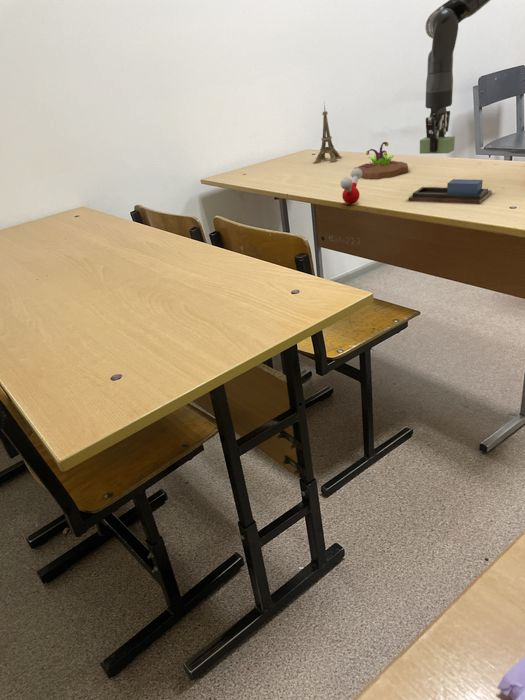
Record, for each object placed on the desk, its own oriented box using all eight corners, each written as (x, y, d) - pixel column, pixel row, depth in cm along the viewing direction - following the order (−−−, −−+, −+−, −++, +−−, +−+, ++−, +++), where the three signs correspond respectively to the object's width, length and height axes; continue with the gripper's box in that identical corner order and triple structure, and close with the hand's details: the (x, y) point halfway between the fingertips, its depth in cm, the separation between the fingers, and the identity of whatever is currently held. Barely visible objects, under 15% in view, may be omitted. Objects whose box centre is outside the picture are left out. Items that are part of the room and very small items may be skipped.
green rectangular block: (454, 150, 163) (454, 136, 161) (448, 153, 160) (449, 139, 158) (425, 150, 168) (426, 137, 166) (419, 153, 165) (419, 140, 163)
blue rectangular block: (481, 193, 163) (482, 179, 161) (476, 197, 159) (477, 183, 157) (452, 192, 168) (453, 179, 166) (446, 196, 164) (447, 183, 163)
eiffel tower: (341, 157, 249) (338, 99, 236) (336, 162, 240) (332, 101, 228) (320, 158, 253) (316, 101, 240) (313, 163, 244) (309, 104, 232)
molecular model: (357, 210, 166) (356, 178, 161) (338, 211, 168) (337, 179, 163) (363, 196, 181) (362, 166, 176) (346, 197, 182) (345, 167, 178)
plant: (417, 171, 203) (418, 140, 198) (372, 181, 199) (371, 149, 193) (390, 164, 220) (390, 136, 215) (348, 173, 216) (346, 144, 210)
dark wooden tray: (491, 193, 164) (492, 187, 163) (479, 204, 156) (479, 197, 155) (422, 191, 177) (422, 185, 176) (408, 201, 169) (408, 194, 168)
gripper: (442, 91, 148) (440, 154, 157) (460, 85, 158) (457, 145, 166) (417, 93, 153) (416, 155, 161) (435, 87, 162) (433, 145, 170)
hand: (437, 149), depth 164 cm, fingers closed on green rectangular block, 5 cm apart
